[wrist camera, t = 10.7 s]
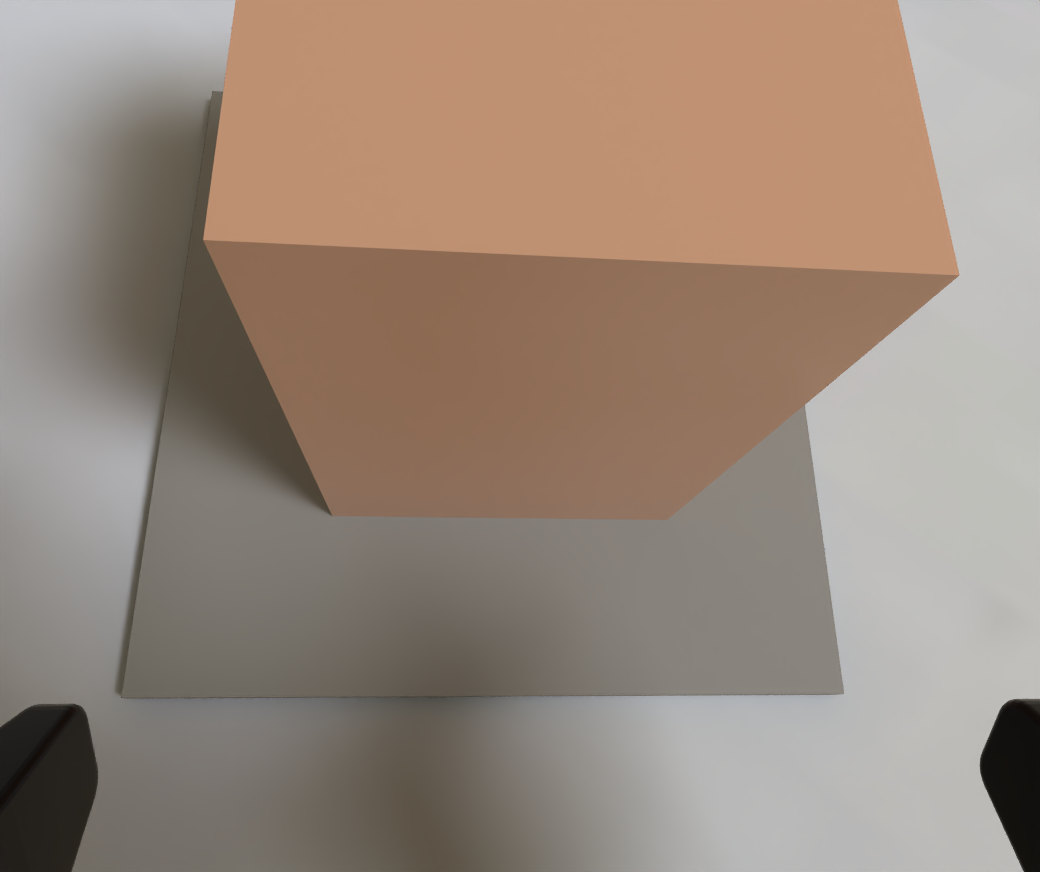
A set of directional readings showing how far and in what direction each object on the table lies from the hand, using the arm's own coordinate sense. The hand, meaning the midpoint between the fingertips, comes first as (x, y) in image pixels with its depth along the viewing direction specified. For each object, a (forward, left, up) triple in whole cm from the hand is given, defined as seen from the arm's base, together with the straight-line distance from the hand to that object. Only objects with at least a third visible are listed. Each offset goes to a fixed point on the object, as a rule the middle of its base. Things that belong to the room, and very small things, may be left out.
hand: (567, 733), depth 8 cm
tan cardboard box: (+7, +3, -8) cm, 11 cm away
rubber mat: (+7, +3, -8) cm, 11 cm away
